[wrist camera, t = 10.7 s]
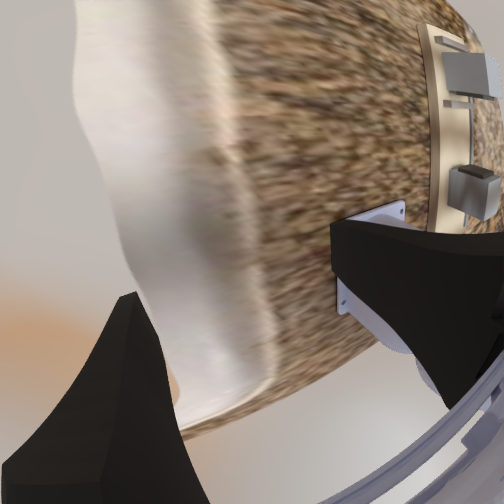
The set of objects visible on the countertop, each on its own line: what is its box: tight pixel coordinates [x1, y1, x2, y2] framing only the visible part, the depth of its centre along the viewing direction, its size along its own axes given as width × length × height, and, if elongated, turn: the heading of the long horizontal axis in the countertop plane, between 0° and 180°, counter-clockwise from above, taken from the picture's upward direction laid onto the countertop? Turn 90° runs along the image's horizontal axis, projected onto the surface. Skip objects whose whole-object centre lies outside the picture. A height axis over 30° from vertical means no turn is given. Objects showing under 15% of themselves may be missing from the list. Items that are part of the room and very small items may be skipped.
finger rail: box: [417, 24, 501, 234], centre depth 21 cm, size 24×8×6 cm, turn 12°
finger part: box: [442, 52, 502, 101], centre depth 17 cm, size 4×4×5 cm
